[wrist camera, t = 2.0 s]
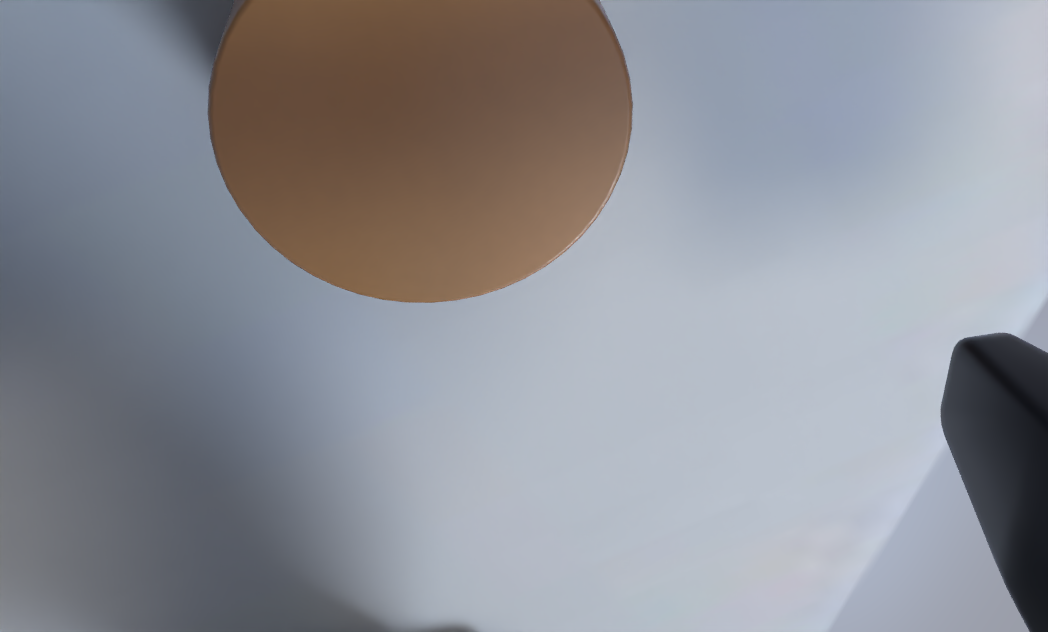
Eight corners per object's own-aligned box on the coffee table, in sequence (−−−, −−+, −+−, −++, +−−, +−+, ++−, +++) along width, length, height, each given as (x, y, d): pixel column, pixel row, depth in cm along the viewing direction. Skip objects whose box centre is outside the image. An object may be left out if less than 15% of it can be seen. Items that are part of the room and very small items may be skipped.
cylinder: (610, 189, 17) (640, 275, 15) (284, 237, 17) (270, 330, 15) (590, -164, 13) (625, -114, 11) (180, -107, 13) (144, -47, 11)
